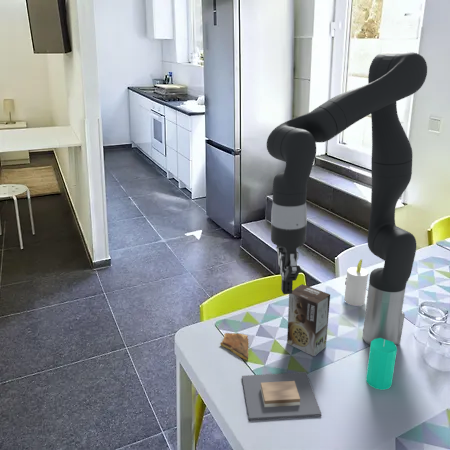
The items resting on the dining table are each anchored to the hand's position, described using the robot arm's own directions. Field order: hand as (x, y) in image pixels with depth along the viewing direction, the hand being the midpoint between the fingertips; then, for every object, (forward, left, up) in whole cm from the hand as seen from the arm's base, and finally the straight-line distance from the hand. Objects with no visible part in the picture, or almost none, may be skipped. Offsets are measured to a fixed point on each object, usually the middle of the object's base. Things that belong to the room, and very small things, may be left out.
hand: (286, 292), depth 106 cm
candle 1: (-30, -35, -24) cm, 52 cm away
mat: (+2, +6, -24) cm, 25 cm away
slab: (+2, +4, -22) cm, 23 cm away
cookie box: (-9, -13, -24) cm, 29 cm away
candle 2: (-23, +3, -24) cm, 34 cm away
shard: (+9, -14, -25) cm, 30 cm away
